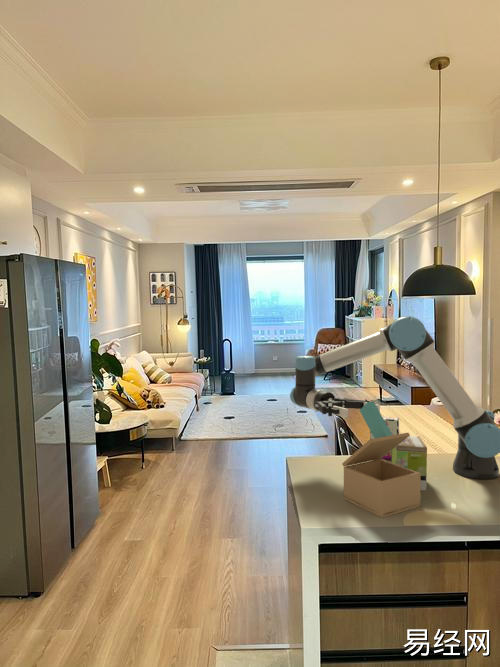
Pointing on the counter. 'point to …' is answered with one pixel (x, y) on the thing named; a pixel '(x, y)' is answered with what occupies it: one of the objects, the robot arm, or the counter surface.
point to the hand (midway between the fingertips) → (363, 411)
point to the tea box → (412, 457)
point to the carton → (382, 487)
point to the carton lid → (375, 437)
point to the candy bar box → (394, 429)
